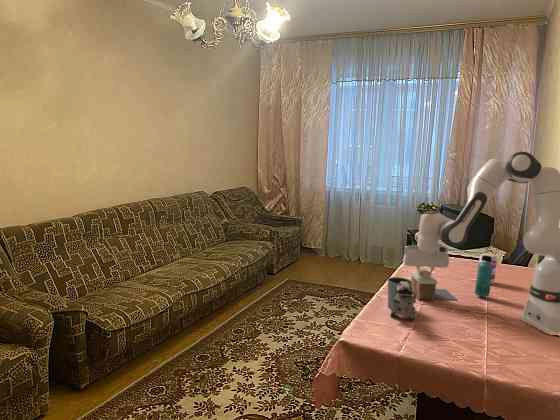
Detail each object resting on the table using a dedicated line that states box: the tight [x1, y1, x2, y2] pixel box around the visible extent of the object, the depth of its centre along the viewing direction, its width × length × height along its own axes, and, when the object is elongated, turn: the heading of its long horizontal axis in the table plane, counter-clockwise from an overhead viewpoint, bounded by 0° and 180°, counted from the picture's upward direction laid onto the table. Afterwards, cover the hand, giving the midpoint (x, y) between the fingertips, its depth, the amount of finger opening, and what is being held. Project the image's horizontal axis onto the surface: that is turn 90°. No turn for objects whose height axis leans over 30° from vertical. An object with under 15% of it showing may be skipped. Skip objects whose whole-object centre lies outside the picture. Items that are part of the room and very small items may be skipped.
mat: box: [434, 288, 458, 301], centre depth 208 cm, size 14×10×1 cm
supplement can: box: [478, 252, 498, 286], centre depth 229 cm, size 8×8×15 cm
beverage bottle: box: [474, 255, 493, 297], centre depth 206 cm, size 6×7×20 cm
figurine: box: [390, 281, 417, 323], centre depth 174 cm, size 9×12×15 cm
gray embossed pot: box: [387, 276, 413, 310], centre depth 187 cm, size 10×10×12 cm
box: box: [410, 276, 437, 302], centre depth 204 cm, size 12×7×8 cm, turn 1°
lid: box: [410, 267, 439, 285], centre depth 203 cm, size 13×8×4 cm, turn 1°
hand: (424, 275), depth 203 cm, fingers open, 3 cm apart
